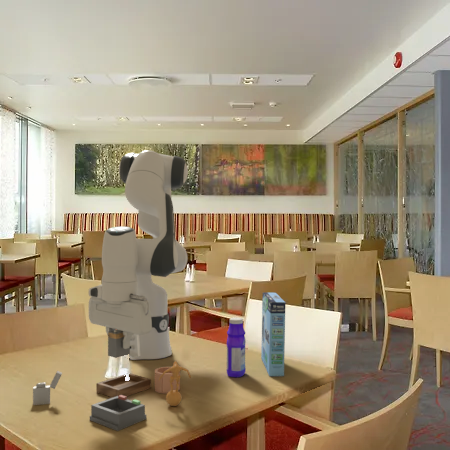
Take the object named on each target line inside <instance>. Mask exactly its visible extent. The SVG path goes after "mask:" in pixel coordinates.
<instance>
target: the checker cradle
mask: <svg viewBox="0 0 450 450" xmlns="http://www.w3.org/2000/svg"><path fill="white" fill-rule="evenodd" d="M127 397H128V396H127ZM127 397H126V396H123V395H120V396H116V397H113V398H112V397H110V398H107V399H105V400H102V401H98V402H96V403H93V404H91V405H90V407H91V415H89V421H91V422H93V423H96V424H99V425H101V426H104V427H106V428H109V429H112V430H114V431H116V432H118V431H121V430H124V429H125V428H128V427H130V426H133V425H135V424H137V423H140V422H143V421H145V420H147V414H146V404H143V403H141V402H142V401H140V400H138V399H133V400H130V399H127Z"/></svg>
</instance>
